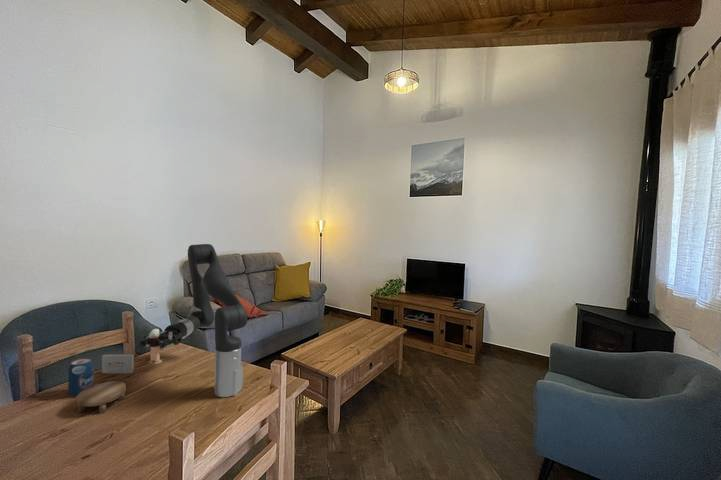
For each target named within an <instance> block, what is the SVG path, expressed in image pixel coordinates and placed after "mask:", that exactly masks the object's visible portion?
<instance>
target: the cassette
mask: <svg viewBox="0 0 721 480" xmlns="http://www.w3.org/2000/svg"><path fill="white" fill-rule="evenodd" d="M134 363H135V361H134V354H103V355H102V356H101V373H102V374H105V375H106V374H107V375H108V374H133V373H134Z"/></svg>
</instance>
